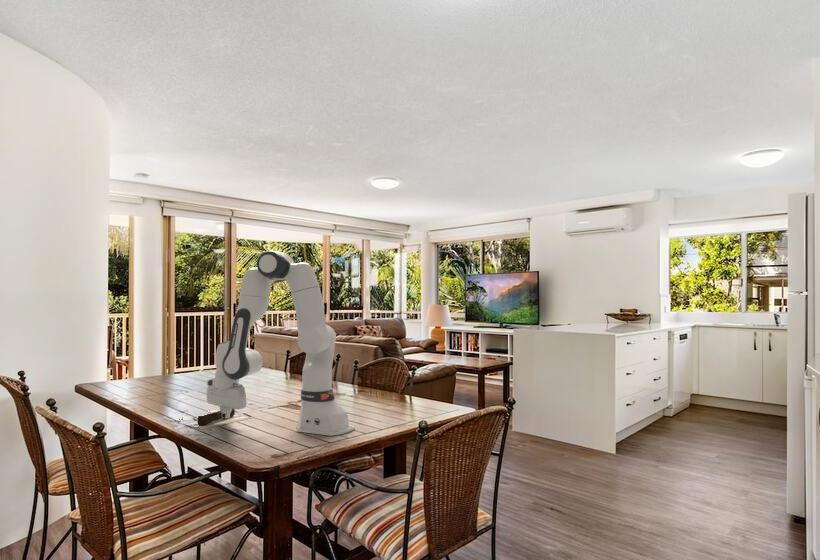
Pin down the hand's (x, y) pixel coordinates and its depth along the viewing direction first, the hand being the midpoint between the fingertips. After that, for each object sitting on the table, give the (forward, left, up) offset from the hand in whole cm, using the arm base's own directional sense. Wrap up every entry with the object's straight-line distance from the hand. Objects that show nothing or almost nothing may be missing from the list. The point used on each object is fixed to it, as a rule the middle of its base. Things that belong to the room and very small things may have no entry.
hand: (225, 417), depth 192 cm
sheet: (+12, 0, -2) cm, 12 cm away
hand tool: (+5, 0, -2) cm, 6 cm away
